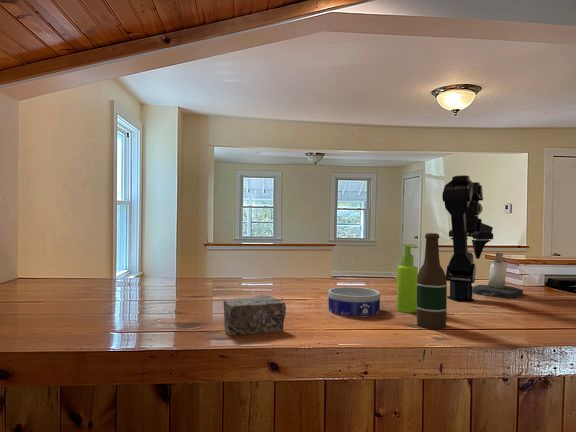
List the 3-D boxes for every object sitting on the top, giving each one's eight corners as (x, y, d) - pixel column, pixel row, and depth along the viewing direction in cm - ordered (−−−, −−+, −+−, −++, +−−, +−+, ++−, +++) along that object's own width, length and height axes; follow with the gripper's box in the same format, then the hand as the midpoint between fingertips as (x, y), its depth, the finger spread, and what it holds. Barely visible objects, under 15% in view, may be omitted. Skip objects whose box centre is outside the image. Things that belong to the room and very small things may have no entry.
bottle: (499, 289, 146) (503, 255, 145) (485, 285, 151) (488, 252, 149) (507, 287, 150) (510, 254, 148) (492, 283, 154) (496, 251, 152)
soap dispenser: (405, 314, 118) (406, 245, 118) (393, 308, 125) (393, 243, 125) (423, 313, 120) (423, 244, 120) (410, 307, 127) (410, 243, 126)
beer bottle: (422, 320, 112) (423, 232, 112) (451, 325, 107) (452, 233, 107) (410, 325, 106) (411, 233, 106) (441, 331, 101) (442, 234, 101)
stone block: (271, 322, 109) (271, 293, 109) (286, 331, 100) (286, 300, 100) (219, 328, 102) (219, 298, 102) (231, 338, 94) (231, 305, 94)
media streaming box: (525, 295, 150) (525, 287, 150) (511, 301, 140) (512, 292, 140) (484, 289, 161) (484, 282, 161) (468, 294, 151) (469, 286, 151)
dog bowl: (364, 304, 132) (364, 285, 132) (390, 315, 117) (390, 294, 117) (320, 307, 127) (320, 287, 127) (341, 319, 112) (341, 297, 112)
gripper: (506, 216, 146) (506, 259, 146) (472, 215, 164) (472, 254, 164) (479, 216, 144) (478, 260, 144) (448, 215, 162) (447, 254, 162)
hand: (469, 257), depth 154 cm, fingers open, 9 cm apart
